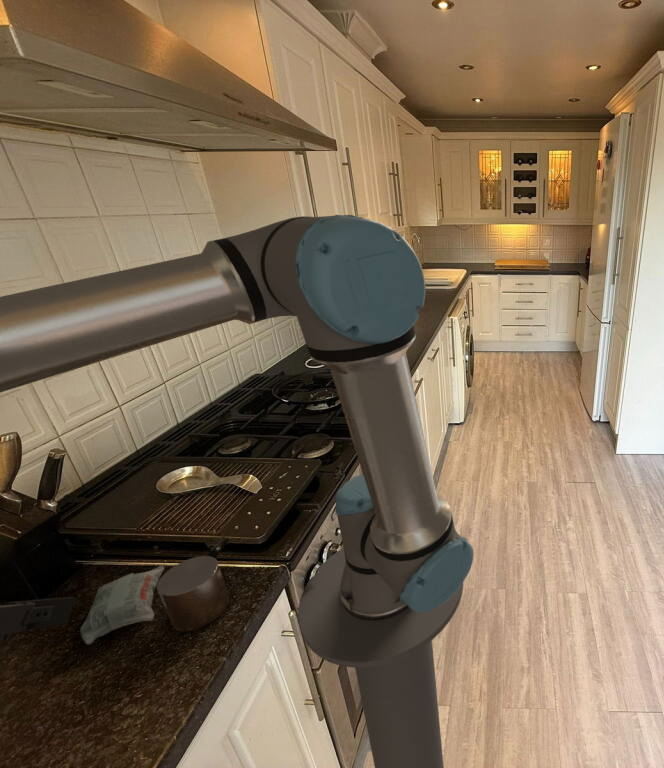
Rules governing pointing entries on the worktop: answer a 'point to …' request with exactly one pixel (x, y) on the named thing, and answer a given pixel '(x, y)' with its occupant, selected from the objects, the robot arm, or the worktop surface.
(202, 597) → the saucepan
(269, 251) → the robot arm
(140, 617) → the packaged food
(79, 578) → the worktop surface
